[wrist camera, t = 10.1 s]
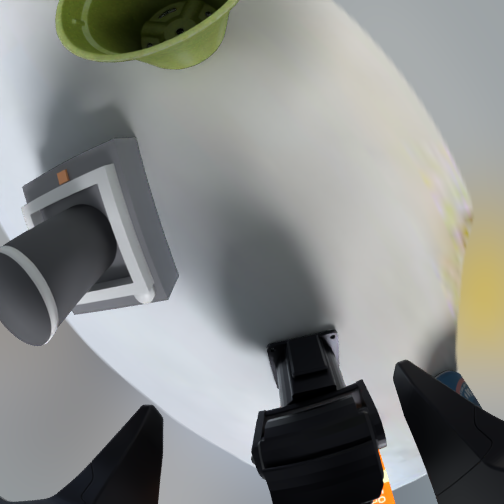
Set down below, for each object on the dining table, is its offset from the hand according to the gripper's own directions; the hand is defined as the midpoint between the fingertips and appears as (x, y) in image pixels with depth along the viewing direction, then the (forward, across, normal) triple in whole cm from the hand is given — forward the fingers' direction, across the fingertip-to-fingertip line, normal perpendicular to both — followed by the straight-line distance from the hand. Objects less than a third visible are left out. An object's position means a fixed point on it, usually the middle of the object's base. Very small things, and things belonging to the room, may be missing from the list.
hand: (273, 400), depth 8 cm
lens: (+10, +11, -5) cm, 15 cm away
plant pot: (+13, +2, -17) cm, 22 cm away
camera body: (+13, +11, -5) cm, 18 cm away
